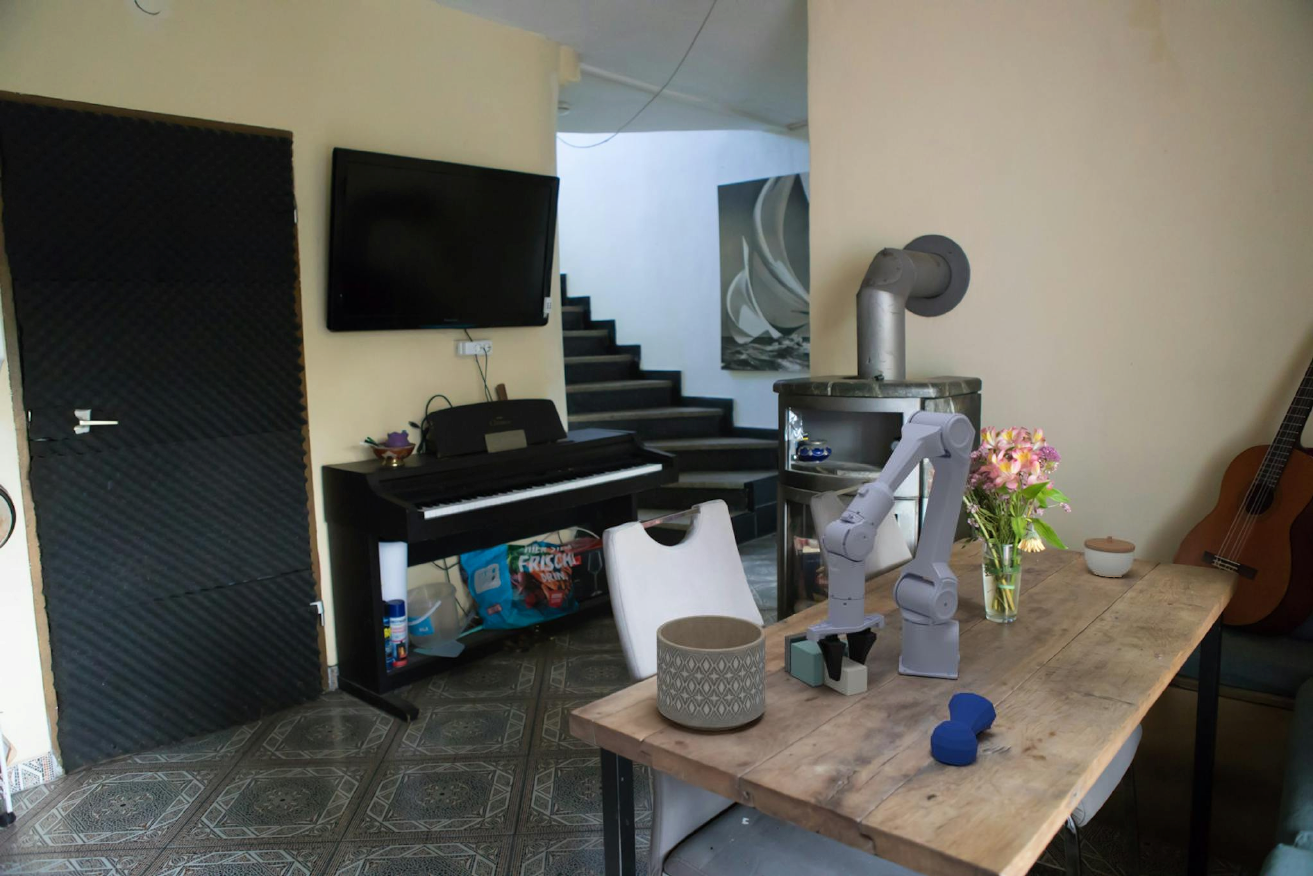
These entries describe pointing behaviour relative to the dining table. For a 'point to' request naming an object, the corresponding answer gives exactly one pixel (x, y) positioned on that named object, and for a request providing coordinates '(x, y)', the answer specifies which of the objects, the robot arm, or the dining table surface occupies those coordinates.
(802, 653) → the block
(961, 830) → the dining table surface
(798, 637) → the wall
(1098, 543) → the lidded jar
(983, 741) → the dining table surface
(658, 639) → the planter
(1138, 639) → the dining table surface
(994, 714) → the toy
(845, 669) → the peg
